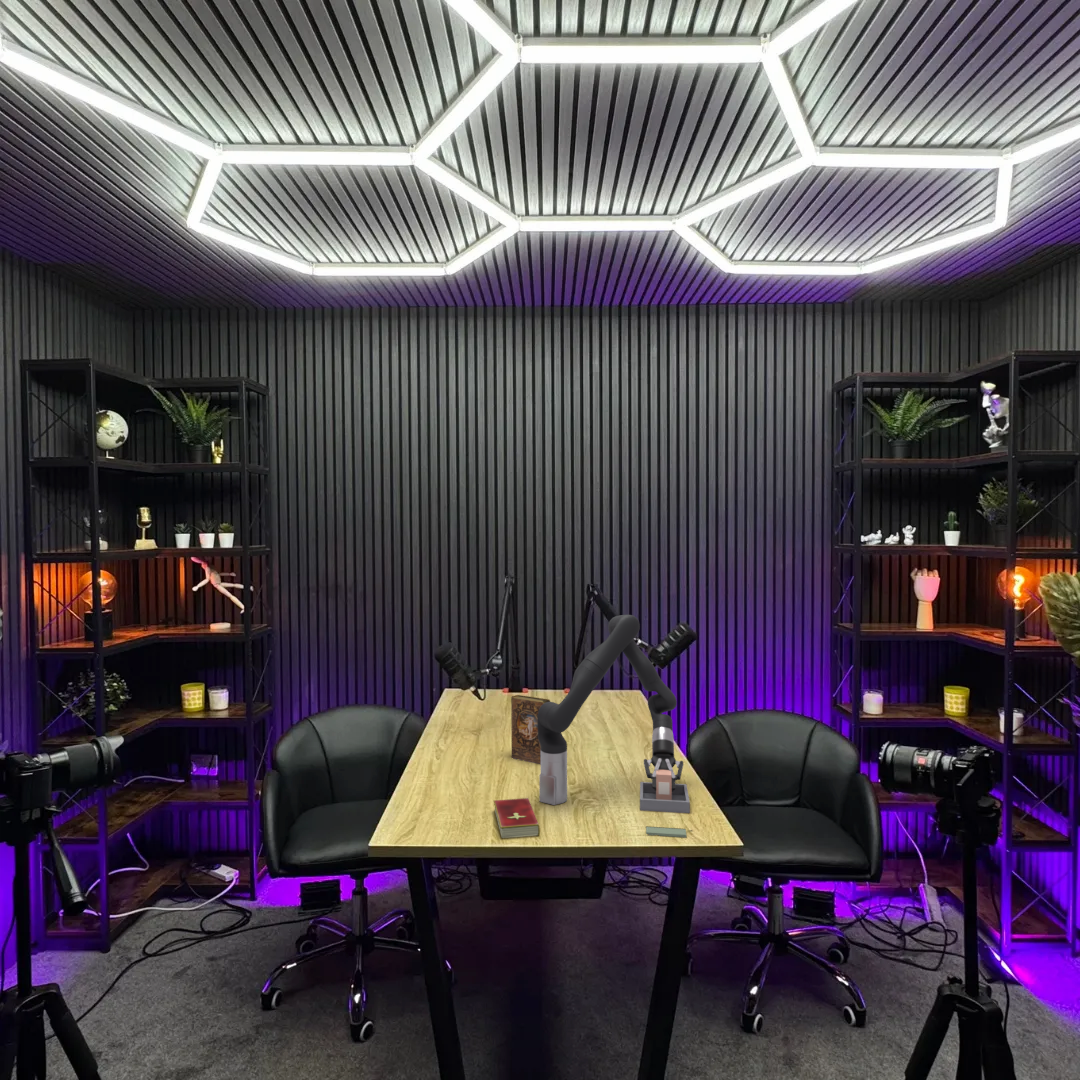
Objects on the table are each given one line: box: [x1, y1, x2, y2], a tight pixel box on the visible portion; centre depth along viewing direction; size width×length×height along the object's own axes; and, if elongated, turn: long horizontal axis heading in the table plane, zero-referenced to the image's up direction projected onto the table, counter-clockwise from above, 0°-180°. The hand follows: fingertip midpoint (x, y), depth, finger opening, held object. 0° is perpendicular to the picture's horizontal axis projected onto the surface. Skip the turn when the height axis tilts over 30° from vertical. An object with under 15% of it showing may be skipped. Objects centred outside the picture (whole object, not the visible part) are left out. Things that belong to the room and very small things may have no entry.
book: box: [510, 694, 551, 765], centre depth 273 cm, size 16×6×25 cm, turn 59°
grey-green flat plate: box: [645, 826, 687, 839], centre depth 209 cm, size 12×12×1 cm
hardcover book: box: [493, 797, 541, 839], centre depth 213 cm, size 12×21×4 cm, turn 10°
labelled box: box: [656, 769, 672, 800], centre depth 227 cm, size 5×5×10 cm
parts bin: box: [639, 781, 691, 814], centre depth 227 cm, size 16×16×4 cm
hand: (663, 789), depth 225 cm, fingers closed on labelled box, 5 cm apart
